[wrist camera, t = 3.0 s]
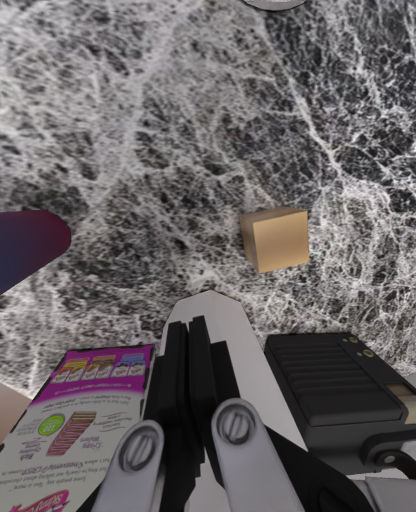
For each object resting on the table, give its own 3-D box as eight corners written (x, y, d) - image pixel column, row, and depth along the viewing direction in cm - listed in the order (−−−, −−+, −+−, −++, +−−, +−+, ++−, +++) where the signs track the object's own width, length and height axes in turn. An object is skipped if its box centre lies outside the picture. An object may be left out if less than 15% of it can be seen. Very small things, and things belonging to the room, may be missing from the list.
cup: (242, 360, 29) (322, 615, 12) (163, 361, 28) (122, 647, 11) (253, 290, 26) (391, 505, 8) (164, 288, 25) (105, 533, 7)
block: (239, 215, 23) (252, 222, 18) (282, 205, 23) (307, 210, 18) (245, 257, 24) (259, 273, 20) (286, 247, 24) (309, 262, 20)
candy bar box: (75, 379, 28) (-68, 622, 12) (66, 349, 26) (-111, 586, 11) (159, 372, 29) (125, 589, 13) (156, 343, 27) (112, 551, 12)
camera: (339, 385, 33) (454, 535, 19) (256, 391, 32) (311, 557, 17) (357, 329, 29) (514, 460, 15) (264, 332, 28) (342, 480, 14)
